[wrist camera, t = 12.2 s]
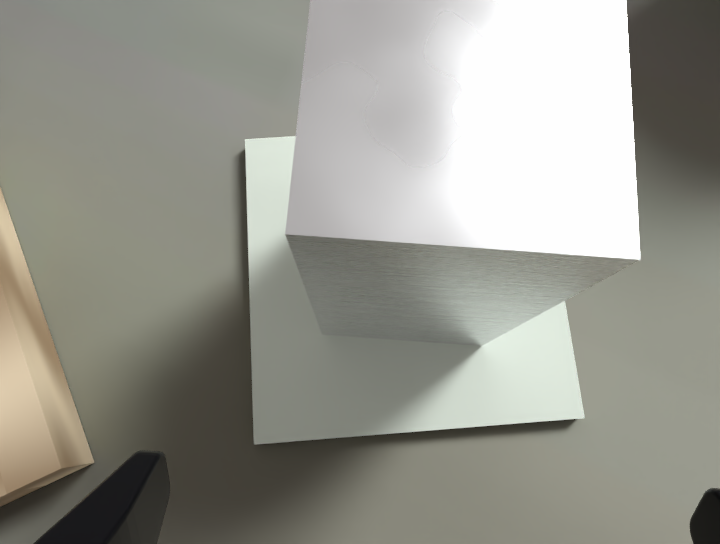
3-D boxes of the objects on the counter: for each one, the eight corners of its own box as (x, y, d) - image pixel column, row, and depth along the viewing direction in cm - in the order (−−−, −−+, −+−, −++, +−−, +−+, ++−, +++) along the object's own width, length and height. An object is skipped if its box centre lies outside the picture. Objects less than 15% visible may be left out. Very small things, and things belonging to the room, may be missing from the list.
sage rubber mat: (578, 418, 18) (584, 418, 17) (256, 443, 17) (253, 444, 17) (529, 128, 20) (534, 121, 20) (247, 146, 20) (245, 139, 19)
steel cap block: (481, 346, 18) (640, 259, 8) (321, 334, 18) (285, 234, 8) (483, 210, 19) (625, -11, 9) (333, 200, 19) (313, -33, 9)
